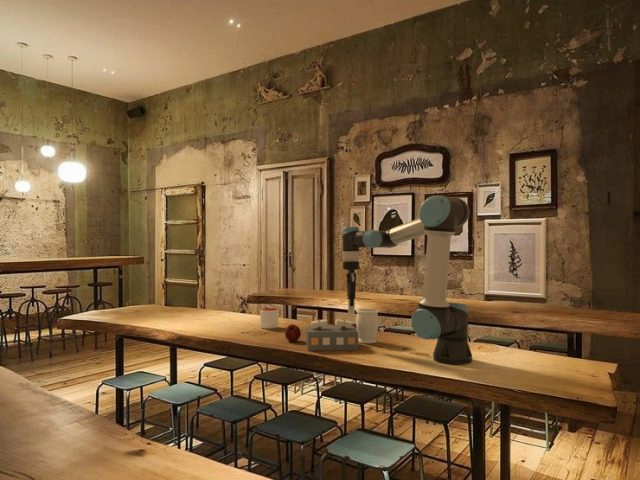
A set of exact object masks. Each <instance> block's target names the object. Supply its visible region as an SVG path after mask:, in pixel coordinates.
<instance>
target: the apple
mask: <svg viewBox="0 0 640 480" xmlns="http://www.w3.org/2000/svg"><path fill="white" fill-rule="evenodd" d="M284 335H285V339H287V341H288V342H297V341H298V340H299V339H300V338H301V335H302V333H301V328H300V327H299V326H298V325H296V324H289V325H288V326H287V327H286V329H285V333H284Z"/></svg>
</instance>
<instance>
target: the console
mask: <svg viewBox="0 0 640 480" xmlns="http://www.w3.org/2000/svg"><path fill="white" fill-rule="evenodd" d="M305 328H306V329H305V343H306V344H305V345H306V349H307V351H358V350H359V341H358V340H359V336H358V331H357V327H355V326H354V325H352V327H345V326H337V325H327V326H321V327H315V328H312V326H310V325H309V326H308V325H307V326H305Z"/></svg>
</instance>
